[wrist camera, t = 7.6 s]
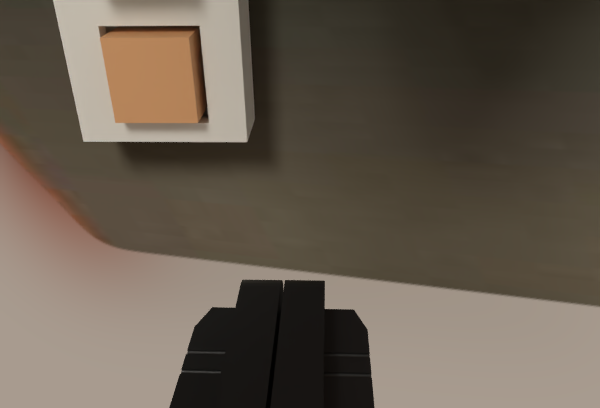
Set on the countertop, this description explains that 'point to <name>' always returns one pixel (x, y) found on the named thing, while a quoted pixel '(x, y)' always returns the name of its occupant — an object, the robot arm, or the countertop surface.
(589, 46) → the countertop surface
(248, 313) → the robot arm
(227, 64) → the white button panel
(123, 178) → the countertop surface
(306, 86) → the countertop surface
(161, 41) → the terracotta button
